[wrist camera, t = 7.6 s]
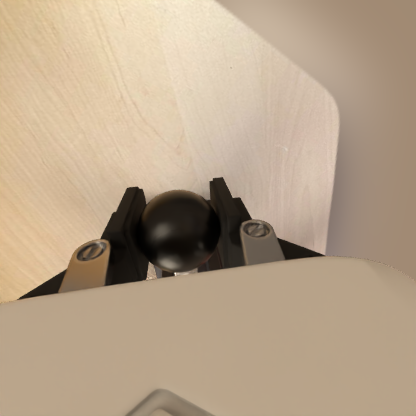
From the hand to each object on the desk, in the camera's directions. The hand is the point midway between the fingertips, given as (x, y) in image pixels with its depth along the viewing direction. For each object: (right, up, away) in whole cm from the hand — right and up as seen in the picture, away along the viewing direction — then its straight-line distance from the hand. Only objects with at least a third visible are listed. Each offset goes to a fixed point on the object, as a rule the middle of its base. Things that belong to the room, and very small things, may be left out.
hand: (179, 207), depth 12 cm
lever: (0, -4, +2) cm, 4 cm away
